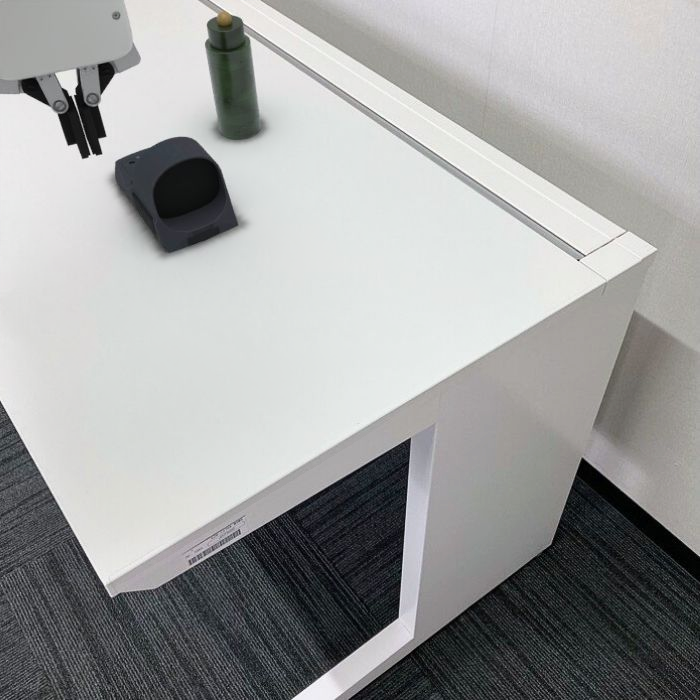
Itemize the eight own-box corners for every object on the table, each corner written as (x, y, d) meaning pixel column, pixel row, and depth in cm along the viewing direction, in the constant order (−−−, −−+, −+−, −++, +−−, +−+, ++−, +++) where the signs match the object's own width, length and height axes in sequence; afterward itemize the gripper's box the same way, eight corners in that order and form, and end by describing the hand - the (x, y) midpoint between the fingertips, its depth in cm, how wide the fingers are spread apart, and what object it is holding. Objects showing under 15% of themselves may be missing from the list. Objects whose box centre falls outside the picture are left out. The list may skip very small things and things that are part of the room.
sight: (176, 152, 100) (160, 81, 92) (239, 226, 89) (227, 153, 82) (108, 175, 96) (86, 104, 89) (166, 255, 86) (146, 182, 79)
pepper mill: (226, 143, 101) (207, 26, 89) (214, 122, 104) (194, 7, 92) (266, 133, 102) (253, 17, 90) (253, 112, 106) (238, -2, 94)
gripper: (119, -148, 51) (169, 104, 64) (-124, -116, 47) (-16, 146, 60) (146, -115, 46) (194, 150, 60) (-121, -77, 42) (-5, 198, 56)
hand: (88, 147), depth 60 cm, fingers closed
